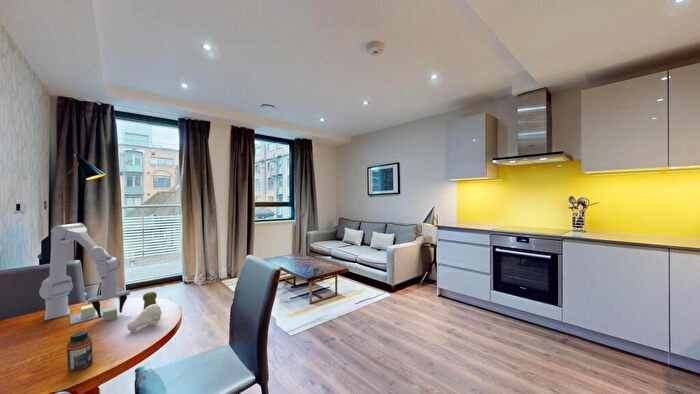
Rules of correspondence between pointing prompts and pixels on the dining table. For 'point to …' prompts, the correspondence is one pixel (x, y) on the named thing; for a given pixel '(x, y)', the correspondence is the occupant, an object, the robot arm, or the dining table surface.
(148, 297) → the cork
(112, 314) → the sage block
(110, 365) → the dining table surface
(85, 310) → the cream block
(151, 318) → the white lumpy piece
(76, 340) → the supplement bottle
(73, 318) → the plate
